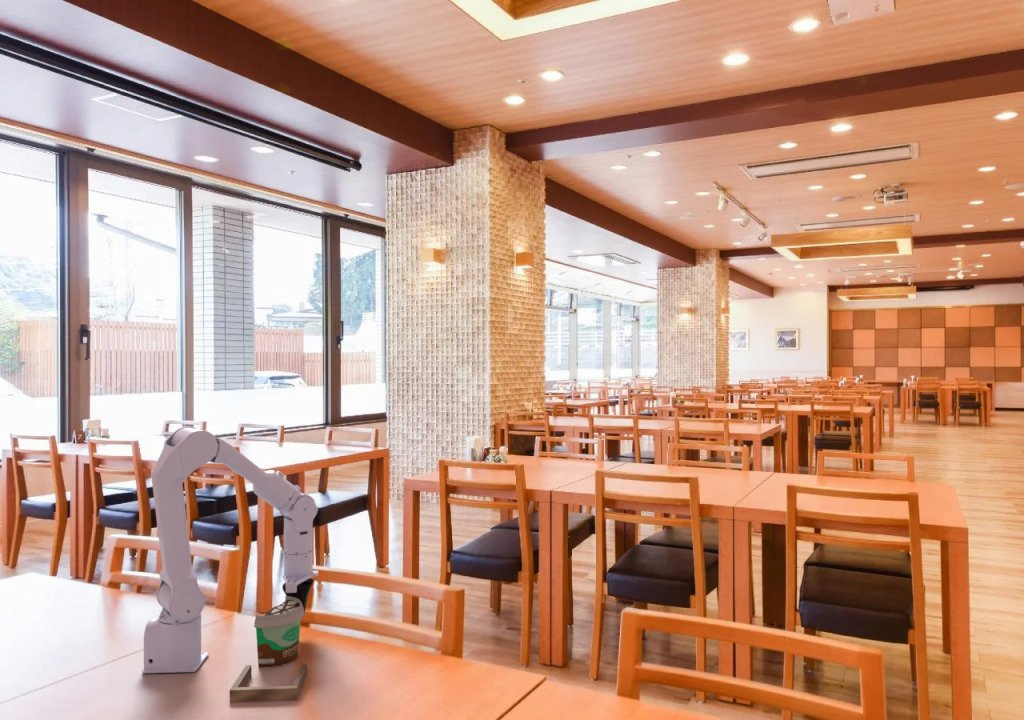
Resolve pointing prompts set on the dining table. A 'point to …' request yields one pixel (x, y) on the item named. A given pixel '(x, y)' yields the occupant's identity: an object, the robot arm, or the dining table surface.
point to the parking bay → (266, 688)
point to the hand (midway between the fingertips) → (298, 616)
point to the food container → (279, 633)
